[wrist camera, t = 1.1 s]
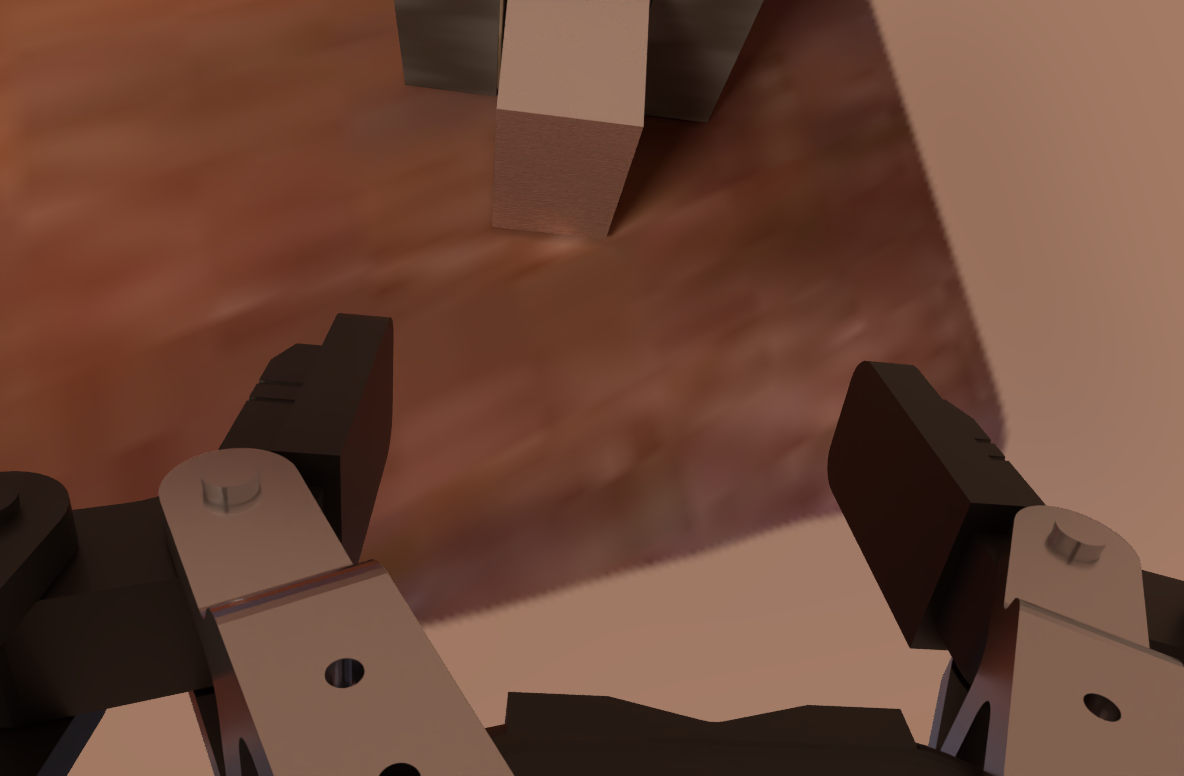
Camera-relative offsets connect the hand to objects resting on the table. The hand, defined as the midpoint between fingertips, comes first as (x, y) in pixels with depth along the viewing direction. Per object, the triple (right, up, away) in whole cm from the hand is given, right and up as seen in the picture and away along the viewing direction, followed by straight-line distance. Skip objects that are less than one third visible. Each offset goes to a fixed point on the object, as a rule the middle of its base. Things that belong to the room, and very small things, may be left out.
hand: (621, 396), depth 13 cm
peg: (-2, +13, +27) cm, 30 cm away
